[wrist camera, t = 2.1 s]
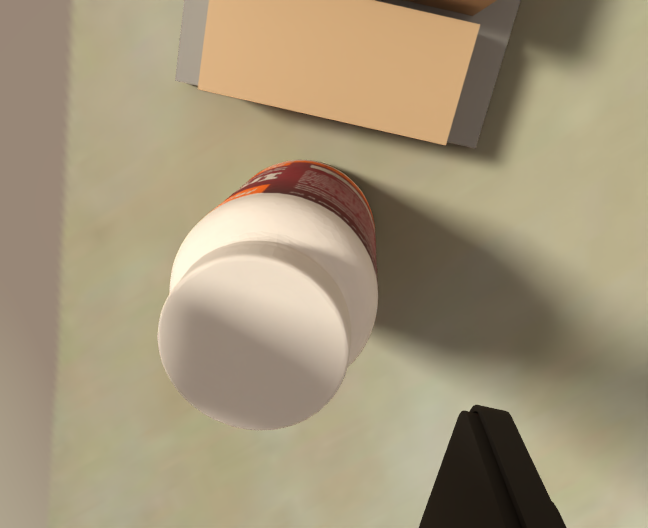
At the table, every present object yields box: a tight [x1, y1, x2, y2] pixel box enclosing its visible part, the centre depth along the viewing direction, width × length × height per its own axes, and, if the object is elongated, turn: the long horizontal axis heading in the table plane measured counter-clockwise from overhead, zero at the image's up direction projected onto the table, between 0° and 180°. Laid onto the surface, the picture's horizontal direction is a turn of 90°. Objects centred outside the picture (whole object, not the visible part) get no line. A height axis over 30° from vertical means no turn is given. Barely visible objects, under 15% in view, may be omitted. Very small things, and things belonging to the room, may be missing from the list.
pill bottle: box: [158, 160, 378, 430], centre depth 18 cm, size 6×6×11 cm
